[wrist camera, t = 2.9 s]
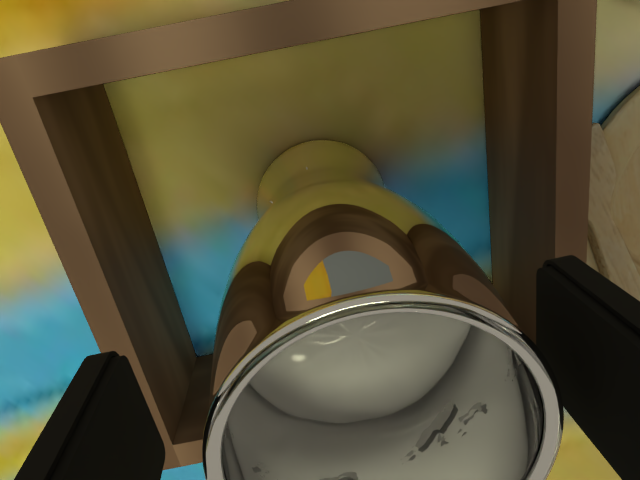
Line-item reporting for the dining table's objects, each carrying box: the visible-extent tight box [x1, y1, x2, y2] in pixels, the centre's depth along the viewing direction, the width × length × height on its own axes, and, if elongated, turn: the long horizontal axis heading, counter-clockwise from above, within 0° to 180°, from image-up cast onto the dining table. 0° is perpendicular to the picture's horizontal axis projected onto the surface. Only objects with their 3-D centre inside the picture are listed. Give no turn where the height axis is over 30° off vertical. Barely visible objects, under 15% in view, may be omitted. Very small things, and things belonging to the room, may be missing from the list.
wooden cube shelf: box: [0, 0, 597, 470], centre depth 20 cm, size 18×16×6 cm
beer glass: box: [202, 140, 564, 480], centre depth 15 cm, size 7×7×15 cm
